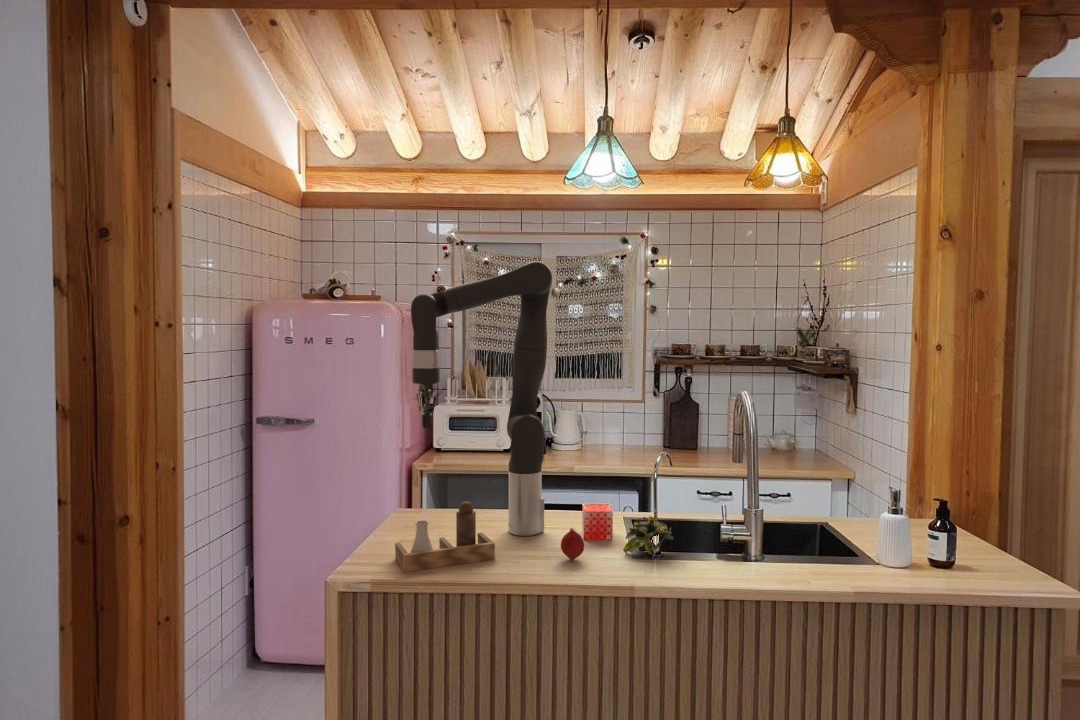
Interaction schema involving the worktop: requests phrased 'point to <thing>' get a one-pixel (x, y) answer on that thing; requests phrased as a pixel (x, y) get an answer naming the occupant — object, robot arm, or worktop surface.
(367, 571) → the worktop surface
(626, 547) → the green leafy plant
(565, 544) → the onion
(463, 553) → the rack
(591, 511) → the red patterned cube
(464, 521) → the pepper mill
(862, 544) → the worktop surface
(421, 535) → the flask
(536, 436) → the robot arm
